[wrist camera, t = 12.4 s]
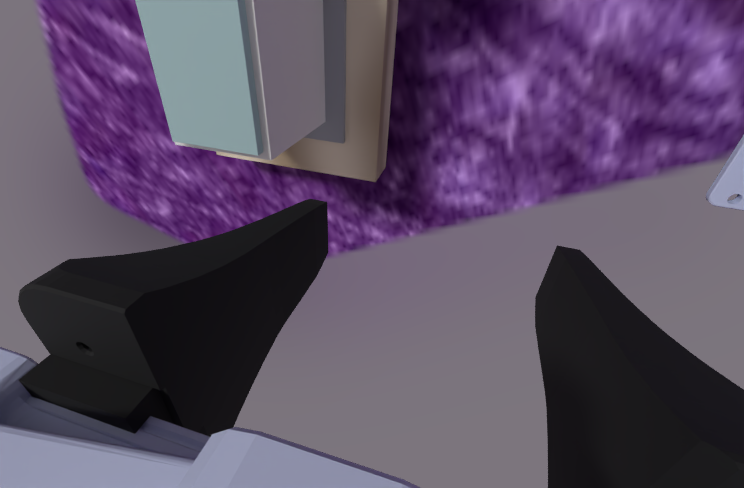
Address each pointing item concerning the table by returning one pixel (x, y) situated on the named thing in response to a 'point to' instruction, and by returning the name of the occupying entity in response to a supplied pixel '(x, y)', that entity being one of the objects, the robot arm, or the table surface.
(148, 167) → the table surface
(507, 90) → the table surface
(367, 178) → the stand
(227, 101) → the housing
